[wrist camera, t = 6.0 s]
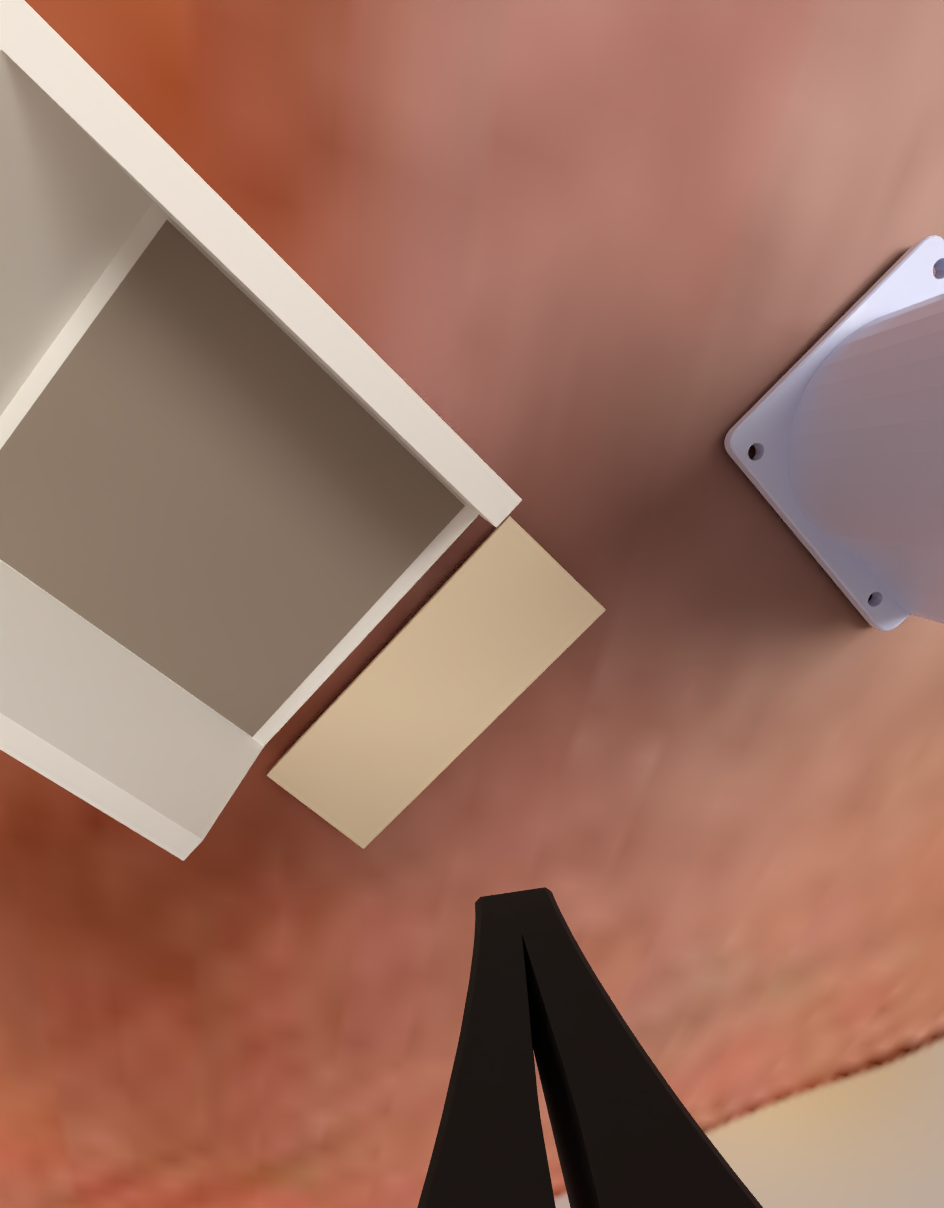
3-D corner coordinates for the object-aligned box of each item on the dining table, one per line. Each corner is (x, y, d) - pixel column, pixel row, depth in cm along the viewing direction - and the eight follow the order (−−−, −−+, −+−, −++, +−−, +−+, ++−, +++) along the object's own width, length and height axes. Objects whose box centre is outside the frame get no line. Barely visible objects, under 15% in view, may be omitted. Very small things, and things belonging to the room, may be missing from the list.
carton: (494, 494, 15) (522, 499, 10) (258, 749, 16) (183, 861, 12) (163, 167, 12) (-19, -44, 7) (-82, 511, 14) (-364, 528, 9)
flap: (507, 515, 15) (599, 605, 15) (274, 764, 16) (367, 834, 17) (509, 516, 14) (605, 609, 15) (266, 775, 15) (363, 849, 16)
